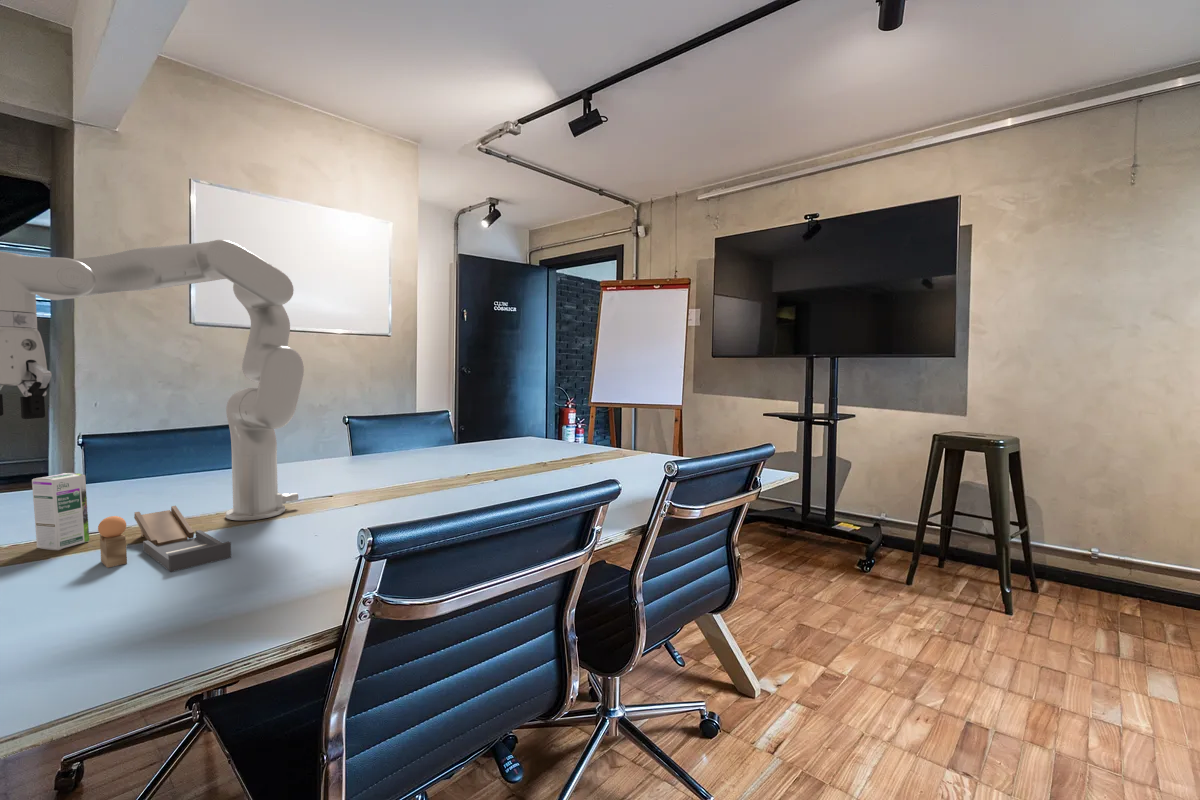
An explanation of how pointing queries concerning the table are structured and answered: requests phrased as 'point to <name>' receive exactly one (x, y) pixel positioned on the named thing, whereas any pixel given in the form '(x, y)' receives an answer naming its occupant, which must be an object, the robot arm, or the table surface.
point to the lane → (188, 552)
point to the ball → (112, 526)
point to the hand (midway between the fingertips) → (12, 417)
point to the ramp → (164, 526)
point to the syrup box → (60, 510)
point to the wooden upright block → (113, 550)
